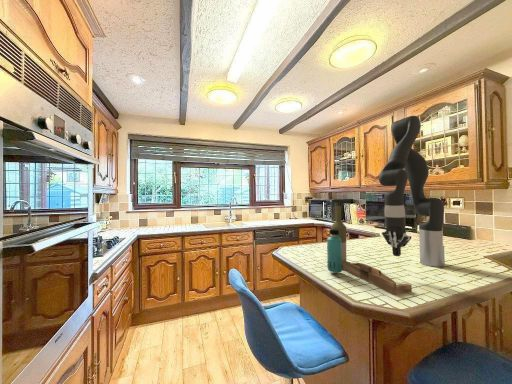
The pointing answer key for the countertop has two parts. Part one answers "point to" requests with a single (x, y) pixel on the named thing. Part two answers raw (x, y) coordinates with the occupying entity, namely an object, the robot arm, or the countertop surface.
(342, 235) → the bottle
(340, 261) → the beverage bottle
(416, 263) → the countertop surface
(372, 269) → the sunglasses case
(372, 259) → the countertop surface
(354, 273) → the display cradle
